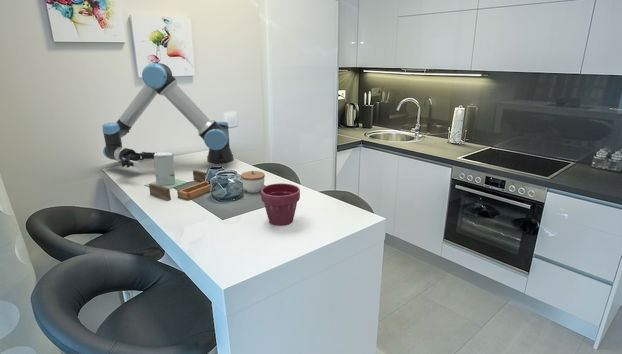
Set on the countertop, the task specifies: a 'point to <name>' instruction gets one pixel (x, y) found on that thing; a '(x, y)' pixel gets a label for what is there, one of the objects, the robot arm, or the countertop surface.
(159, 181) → the skincare box
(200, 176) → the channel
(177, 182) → the pad
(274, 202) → the plant pot
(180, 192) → the brown rectangular tray
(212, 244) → the countertop surface
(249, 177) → the lidded jar
